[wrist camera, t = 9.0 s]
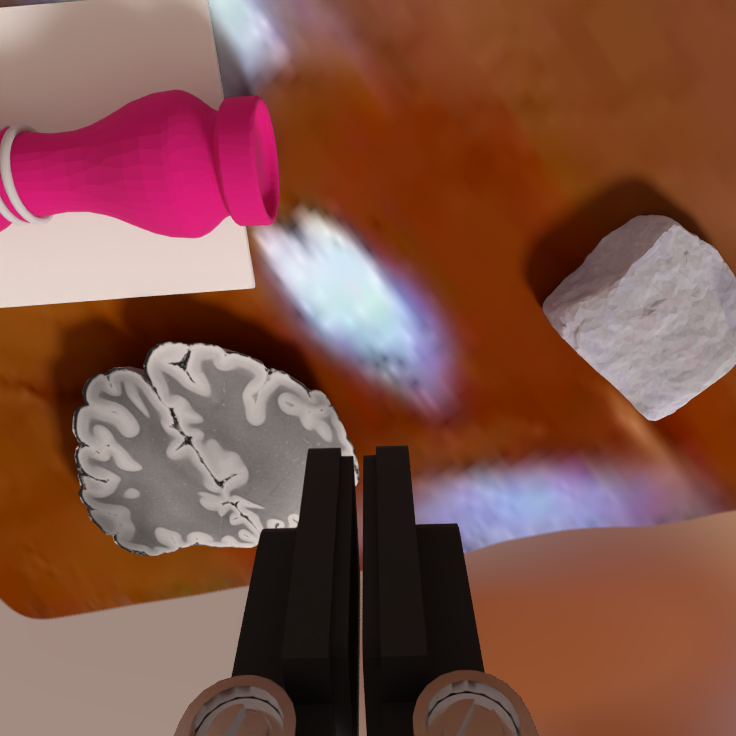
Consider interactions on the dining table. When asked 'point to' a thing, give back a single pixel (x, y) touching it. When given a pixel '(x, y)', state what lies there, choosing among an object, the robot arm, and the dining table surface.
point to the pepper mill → (148, 166)
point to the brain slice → (198, 448)
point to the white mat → (88, 105)
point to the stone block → (650, 313)
